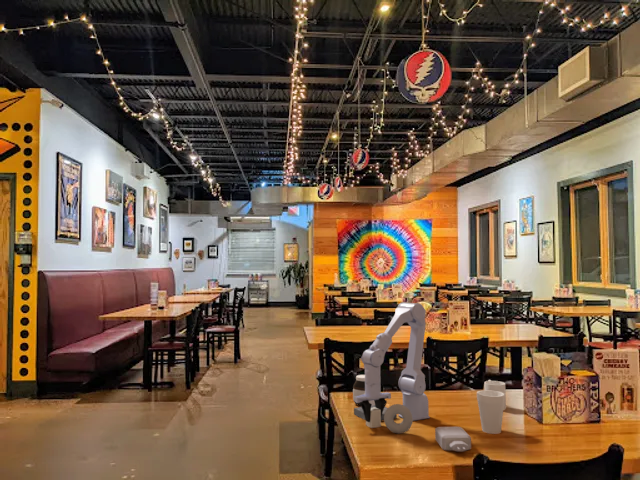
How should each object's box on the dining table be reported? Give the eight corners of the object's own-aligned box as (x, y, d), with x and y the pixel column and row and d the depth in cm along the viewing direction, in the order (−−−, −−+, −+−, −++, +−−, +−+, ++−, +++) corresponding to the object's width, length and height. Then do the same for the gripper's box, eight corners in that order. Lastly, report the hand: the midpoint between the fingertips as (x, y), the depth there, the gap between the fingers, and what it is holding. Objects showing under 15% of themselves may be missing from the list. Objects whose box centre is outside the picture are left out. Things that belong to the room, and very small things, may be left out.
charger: (447, 457, 151) (435, 441, 166) (477, 457, 151) (463, 441, 166) (446, 441, 152) (435, 426, 167) (477, 441, 152) (462, 426, 167)
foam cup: (485, 425, 183) (484, 389, 184) (510, 430, 176) (509, 393, 177) (472, 431, 176) (471, 393, 177) (497, 437, 169) (496, 398, 170)
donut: (412, 432, 175) (412, 403, 176) (413, 435, 172) (412, 405, 172) (384, 431, 177) (383, 402, 177) (384, 434, 173) (383, 405, 174)
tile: (379, 410, 203) (379, 404, 203) (396, 418, 192) (396, 411, 192) (354, 414, 198) (353, 408, 198) (369, 422, 187) (369, 415, 187)
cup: (498, 402, 215) (497, 378, 215) (509, 410, 203) (508, 385, 203) (479, 402, 214) (478, 379, 215) (489, 410, 202) (488, 385, 203)
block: (375, 423, 186) (374, 407, 186) (380, 426, 182) (380, 409, 182) (365, 425, 184) (365, 408, 184) (371, 428, 180) (371, 411, 181)
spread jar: (362, 400, 220) (362, 373, 221) (385, 404, 213) (385, 376, 214) (348, 406, 210) (347, 378, 211) (371, 410, 204) (371, 381, 205)
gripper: (383, 378, 191) (383, 415, 190) (350, 382, 184) (350, 420, 183) (393, 382, 184) (394, 419, 183) (359, 386, 178) (360, 425, 177)
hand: (373, 420), depth 183 cm, fingers closed on block, 4 cm apart
